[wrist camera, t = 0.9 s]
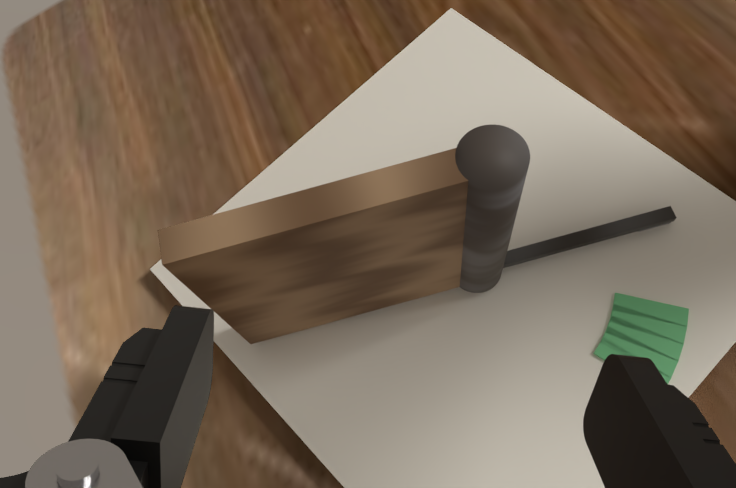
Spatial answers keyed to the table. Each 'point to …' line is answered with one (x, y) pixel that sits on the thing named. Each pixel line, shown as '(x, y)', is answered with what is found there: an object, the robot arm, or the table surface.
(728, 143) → the table surface
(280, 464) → the table surface
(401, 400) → the thin white panel
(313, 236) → the wooden board with post
